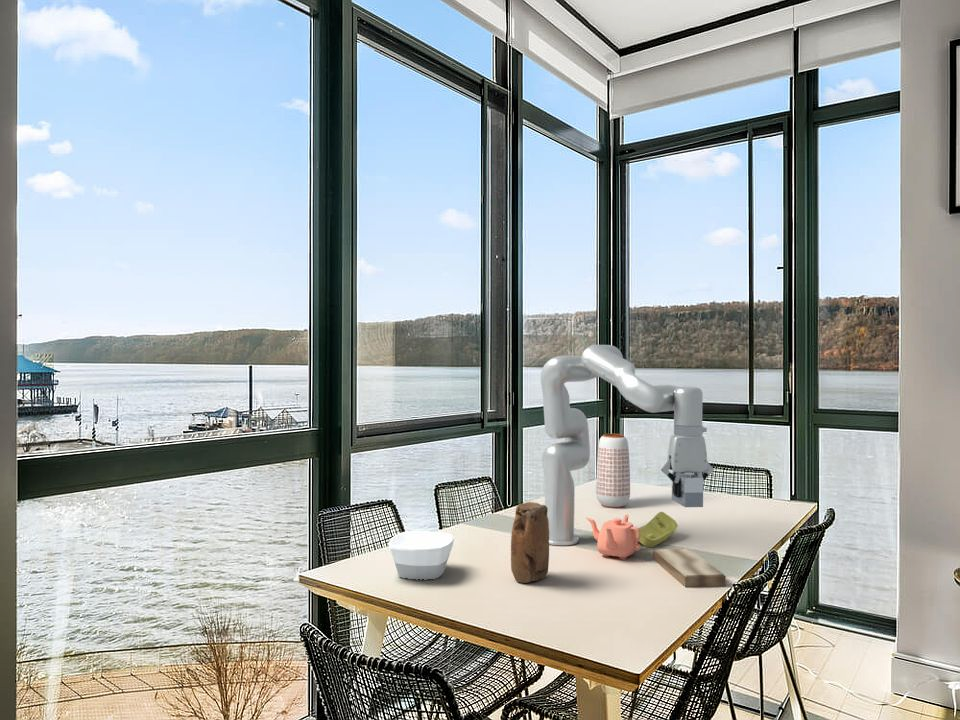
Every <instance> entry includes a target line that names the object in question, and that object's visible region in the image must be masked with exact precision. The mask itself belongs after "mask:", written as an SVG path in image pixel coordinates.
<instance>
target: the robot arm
mask: <svg viewBox="0 0 960 720" xmlns="http://www.w3.org/2000/svg"><path fill="white" fill-rule="evenodd" d="M635 373H636V367H635V365H634V363H633V362H630V361H629V360H627V359H625V358H623V354H622V351H621V350H620V349H619V348H618V347H616V346H614V345H611V344H592V345H590V346H589V345H588V347H586V348H585V349H584V350H583V351H582V354H581V355H558V356H554V357H552V358H550V359H548V360H547V361H546V363H545V364H544V365H543V367H542V368H541V372H540V385H541V390H542V398H543V399H542V401H543V402H542V403H543V418H544V429H545V434H546V435H547V436H548V437H549V438H551V439H556V440H559V439H564V441H562V442H557V443H552V444H550V445H549V446H547V447H546V448H545V449H544V451H543V453H542V456H541V463H542V468H543V473H544V505H545V506H547V508H548V512H547V517H548V520H549V545H550V546H551V545H553V546H572V545H576V544H578V543H579V542H580V538H579V536H578V535H576V534H575V493H576V492H575V482H574V478H573V476H572V473H571V472H572V471H577V470H581V469H583V468H585V467H586V466H587V465H588V463H589V461H590V457H591V455H590V454H591V452H590V451H591V449H590V446H591V445H590V436H589V435H590V433H589V423H588V419H587V417H586V415H585V414H584V412H583V411H582V410H580V409H579V408H575V407H571V405H570V393H569V390H568V389H567V387H566V385H565V383H571V382H572V383H576V382H577V383H579V382H587V381H591V380H592V379H593V380H594V379H595V378H600V379H603V380H604V381H605V382H608V383H609V384H610V385H612V386H614V387H615V388H616V389H617V390H618V391H619V393H620V394H621V396H623V398H624V399H625V400H627V401H628V402H629V403H632V404H633V405H634V406H636V407H638V408H640V409H641V410H643V411H645V412H648V413H651V414H654V413H655V414H656V413H663V412H664V413H665V412H671V411H672V412H674V413H673V435H670V438H669V442H668V449H667V458H666V459H667V461H666V463H665V464H664V465H663V466H662V468H661V470H660V471H661V472H662V473H664V475H666V476H667V478H669V479H670V481H671V482H672V481H673V494H674V496H676V497H677V498H680V491H681V484H680V483H679V479H680V476H681V473H694V474H696V475H698V476H700V477H703V483H704V482H705V480H706V479H707V478H708V477H709V476H710V475H711V474H712V473H714V470H715V469H714V468H713V466H712V465H711V464H710V463H709V462H708V451H707V444H706V440H705V436H704V434H703V433H707V431H708V429H707V427H706V426H704V425H703V399H704V398H703V395H704V394H703V390H702V389H701V388H700V387H693V386H676V385H670V384H665V385H663V384H661V385H659V384H657V385H653V384H650V383H648V382H647V381H645V380H643V379H641V378H640V377H639V376H637V375H636V374H635ZM669 470H671V471H673V474H672V472H670V471H669Z"/></svg>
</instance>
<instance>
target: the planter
mask: <svg viewBox="0 0 960 720" xmlns="http://www.w3.org/2000/svg"><path fill="white" fill-rule="evenodd" d="M629 451H630V450H629V442H628V439H627V438H626V437H625V435H624V434H621V433H604V434H603V435H602V436H601V437H600V438H599V442H598V449H597V460H596V480H595V481H596V483H595V495H596V499H597V501H598V502H599V504H600V505H601V506H602V507H603V508H608V509H620V508H624V507H625V505H626V504H628V502H629V500H630V497H631V467H630V452H629Z"/></svg>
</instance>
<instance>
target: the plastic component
mask: <svg viewBox="0 0 960 720" xmlns="http://www.w3.org/2000/svg"><path fill="white" fill-rule="evenodd" d="M638 529H639V530H640V532H641V537H640V539H639V541H638V543H639V544H640V545H641V544H642V545H643V546H645V547H646V548H653V547H656V546H657V545H659V544H661V543H663V542H664V541H667V540H668V539H669V537H670V536H671V535H673V533H674V532H676V530H677V529H678V522H677V521H676V520H675V519H673V518H672V517H671V516H670V515H668V513H667V514H666V512H664V511H659V512H658V513H657V514H655V515H654V517H653V518H652V519H651V520H650V521H648V523H646V524H645V525H643V526H641V527H638ZM635 533H636V539H637V536H638V533H637V531H635Z"/></svg>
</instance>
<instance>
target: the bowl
mask: <svg viewBox="0 0 960 720" xmlns="http://www.w3.org/2000/svg"><path fill="white" fill-rule="evenodd" d="M454 541H455V540H454V537H453V536H452V534H451V533H446V532H439V531H438V532H437V531H402V532H401V533H397V534H396V535H393V537H391V538H390V540H389V542H388V547H389V550H390V553H391V556H392V560H393V563H394V565H395V569H396V571H397V574H398V577H399V578H400V577H402V578H401V579H405V578H408V579H407V580H412V579H416V580H415V581H428V580H427V579H434V580H436V578H437V579H438V578H440V577H441V576H442V575H443V574H444V572H445V569H446V566H447V563H448V560H449V558H450V555H451V551H452V548H453V546H454ZM418 579H420V580H418ZM422 579H424V580H422Z"/></svg>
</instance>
